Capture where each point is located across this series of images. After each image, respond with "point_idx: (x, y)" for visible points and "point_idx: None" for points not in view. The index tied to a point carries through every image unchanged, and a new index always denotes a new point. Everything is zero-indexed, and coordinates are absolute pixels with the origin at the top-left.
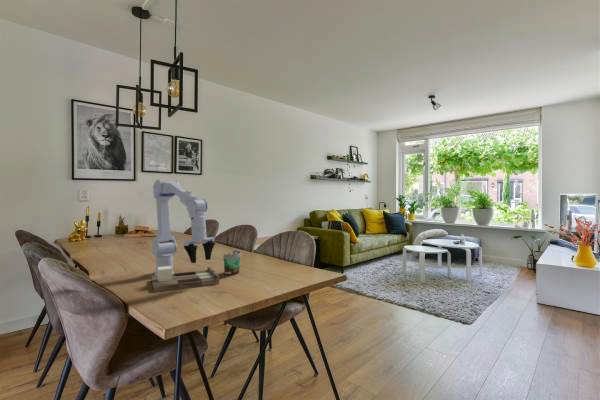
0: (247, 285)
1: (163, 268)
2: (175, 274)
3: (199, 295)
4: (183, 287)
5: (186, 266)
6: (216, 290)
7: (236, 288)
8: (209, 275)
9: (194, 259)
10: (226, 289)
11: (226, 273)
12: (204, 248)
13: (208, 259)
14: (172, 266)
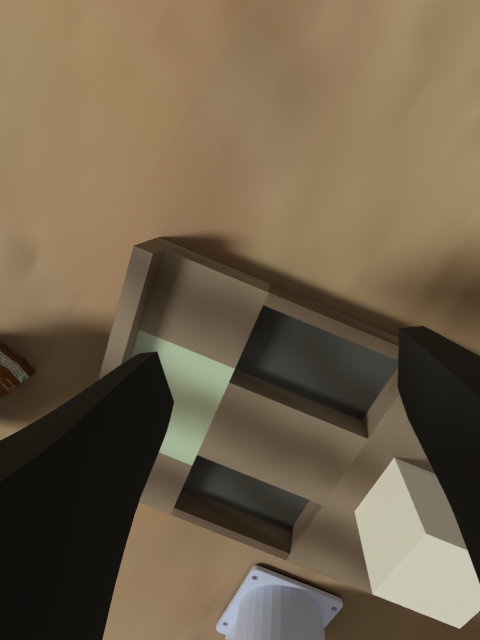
0: (12, 17)
1: (466, 575)
2: (280, 545)
3: (432, 86)
4: (386, 332)
5: (121, 630)
6: (264, 100)
7: (121, 13)
8: None
9: (454, 345)
10: (194, 58)
11: (17, 367)
12: (110, 569)
13: (158, 365)
14: (245, 634)
